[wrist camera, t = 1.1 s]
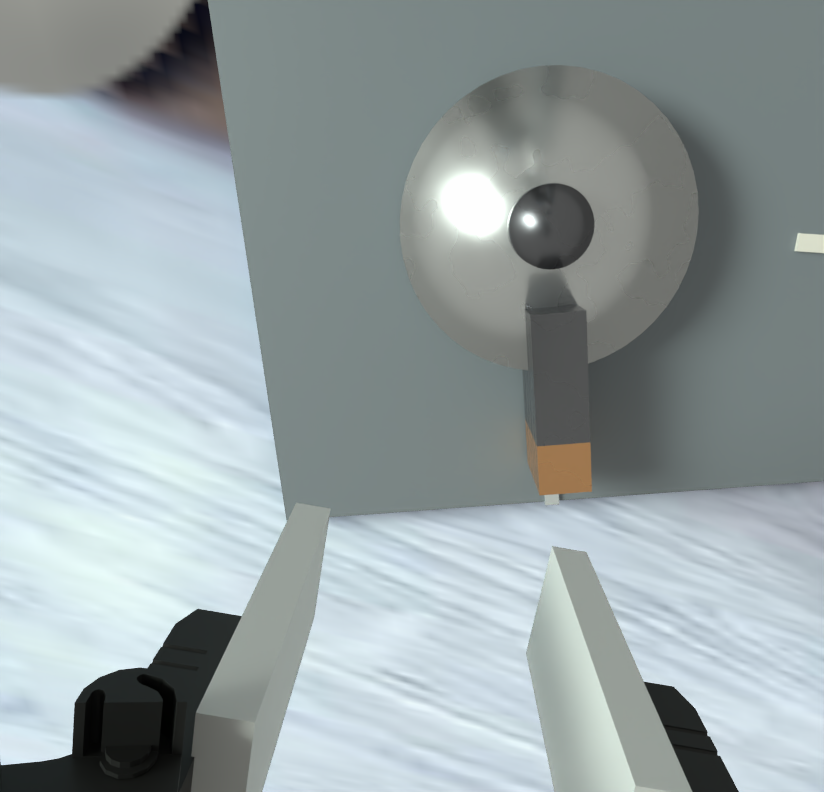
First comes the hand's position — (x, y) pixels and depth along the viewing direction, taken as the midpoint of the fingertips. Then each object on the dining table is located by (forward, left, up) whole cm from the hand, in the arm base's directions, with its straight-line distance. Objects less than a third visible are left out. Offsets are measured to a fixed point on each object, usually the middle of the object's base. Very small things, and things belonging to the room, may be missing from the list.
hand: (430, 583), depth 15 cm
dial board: (-7, +5, -17) cm, 19 cm away
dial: (-5, +5, -15) cm, 16 cm away
